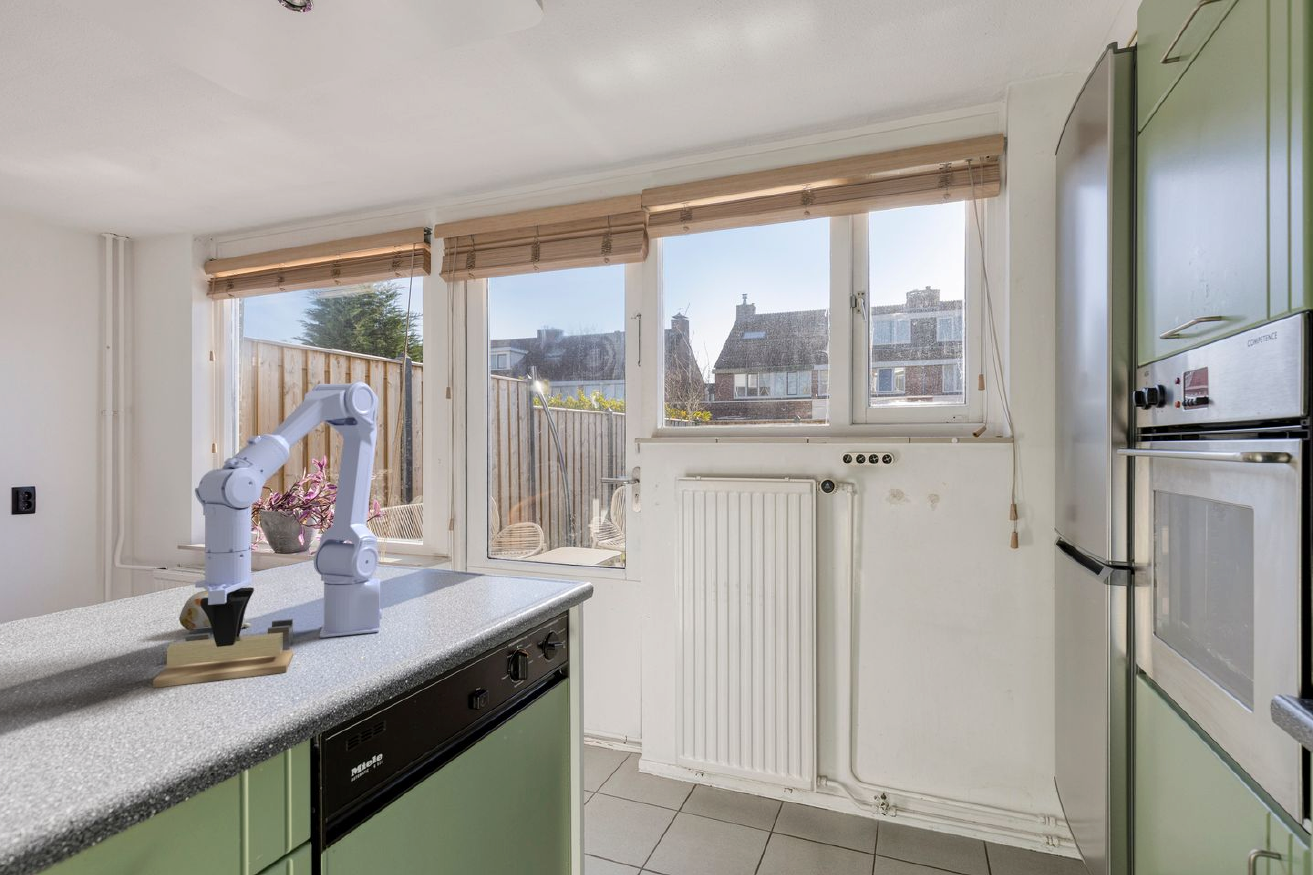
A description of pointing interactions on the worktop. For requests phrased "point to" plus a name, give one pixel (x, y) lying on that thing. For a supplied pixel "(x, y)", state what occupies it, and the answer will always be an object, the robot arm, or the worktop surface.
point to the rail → (224, 649)
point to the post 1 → (200, 634)
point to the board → (223, 669)
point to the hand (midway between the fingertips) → (227, 642)
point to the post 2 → (283, 631)
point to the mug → (198, 613)
